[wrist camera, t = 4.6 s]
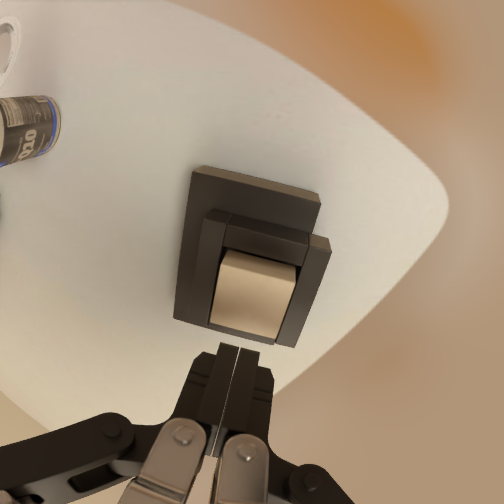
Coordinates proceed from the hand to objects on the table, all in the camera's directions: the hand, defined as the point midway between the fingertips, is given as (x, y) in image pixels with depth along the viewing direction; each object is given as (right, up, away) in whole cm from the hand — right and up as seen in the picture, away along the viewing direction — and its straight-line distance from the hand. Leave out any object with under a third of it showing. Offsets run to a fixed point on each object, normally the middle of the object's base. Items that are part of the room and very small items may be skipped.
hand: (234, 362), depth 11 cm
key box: (0, +4, +9) cm, 10 cm away
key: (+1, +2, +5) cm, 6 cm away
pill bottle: (-15, +14, +7) cm, 22 cm away
